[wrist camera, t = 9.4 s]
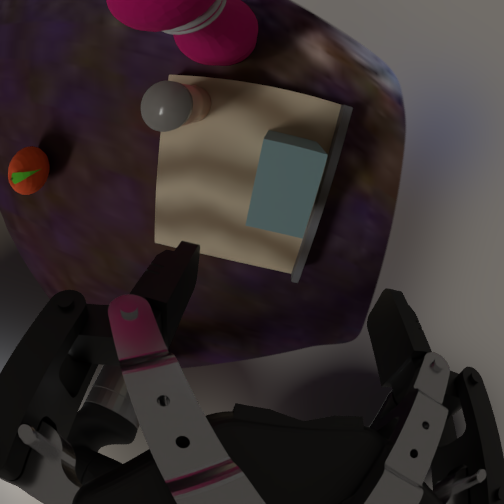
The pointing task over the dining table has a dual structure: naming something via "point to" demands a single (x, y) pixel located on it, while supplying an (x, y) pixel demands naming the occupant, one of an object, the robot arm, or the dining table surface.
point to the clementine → (28, 170)
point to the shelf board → (239, 171)
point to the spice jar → (174, 105)
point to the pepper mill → (196, 26)
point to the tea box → (286, 184)
